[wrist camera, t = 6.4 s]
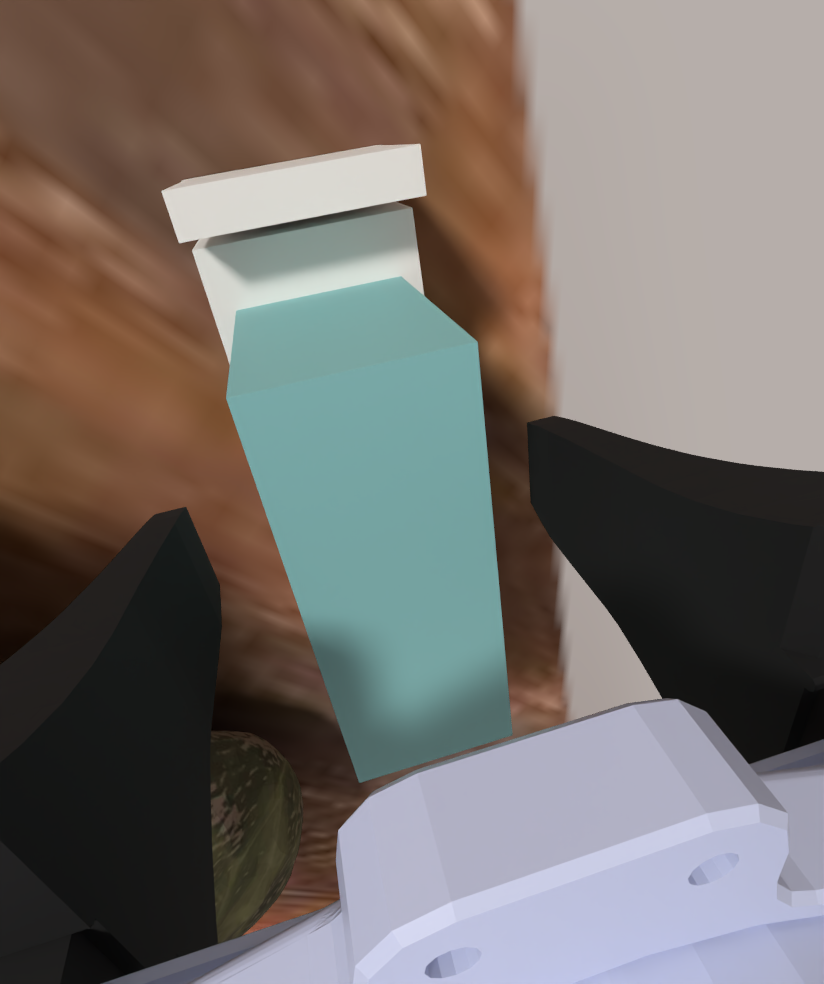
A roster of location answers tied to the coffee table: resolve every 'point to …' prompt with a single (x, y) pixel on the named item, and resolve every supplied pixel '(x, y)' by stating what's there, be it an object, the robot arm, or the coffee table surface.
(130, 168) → the coffee table surface
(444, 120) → the coffee table surface
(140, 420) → the coffee table surface
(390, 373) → the teal block
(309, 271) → the stand
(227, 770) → the decorative rock
